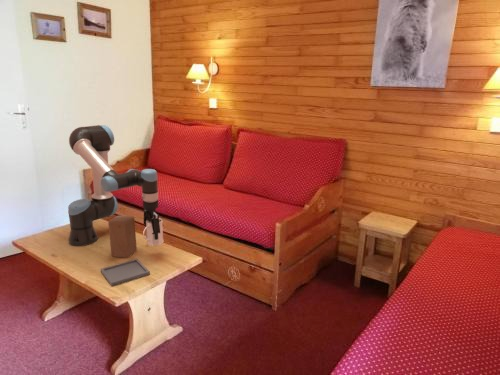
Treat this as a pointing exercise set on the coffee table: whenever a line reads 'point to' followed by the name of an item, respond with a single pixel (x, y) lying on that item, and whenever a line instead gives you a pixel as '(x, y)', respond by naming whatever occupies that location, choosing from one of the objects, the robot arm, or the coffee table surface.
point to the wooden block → (122, 236)
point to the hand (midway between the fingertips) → (152, 241)
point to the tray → (124, 272)
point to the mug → (150, 231)
